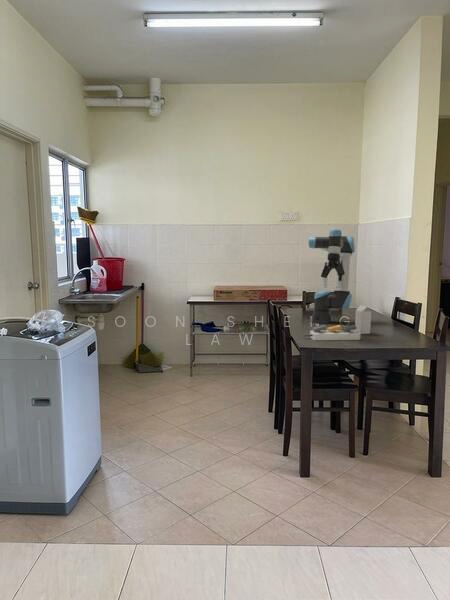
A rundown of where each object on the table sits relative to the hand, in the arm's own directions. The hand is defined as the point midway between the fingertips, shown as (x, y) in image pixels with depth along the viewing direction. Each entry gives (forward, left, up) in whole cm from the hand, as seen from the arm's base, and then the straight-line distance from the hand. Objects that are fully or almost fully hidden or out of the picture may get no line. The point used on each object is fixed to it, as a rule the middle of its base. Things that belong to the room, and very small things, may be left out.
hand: (331, 287), depth 273 cm
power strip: (+5, -1, -32) cm, 32 cm away
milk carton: (-9, +25, -32) cm, 42 cm away
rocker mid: (+4, +2, -26) cm, 26 cm away
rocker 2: (+4, +11, -26) cm, 28 cm away
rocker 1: (+4, -8, -26) cm, 27 cm away
